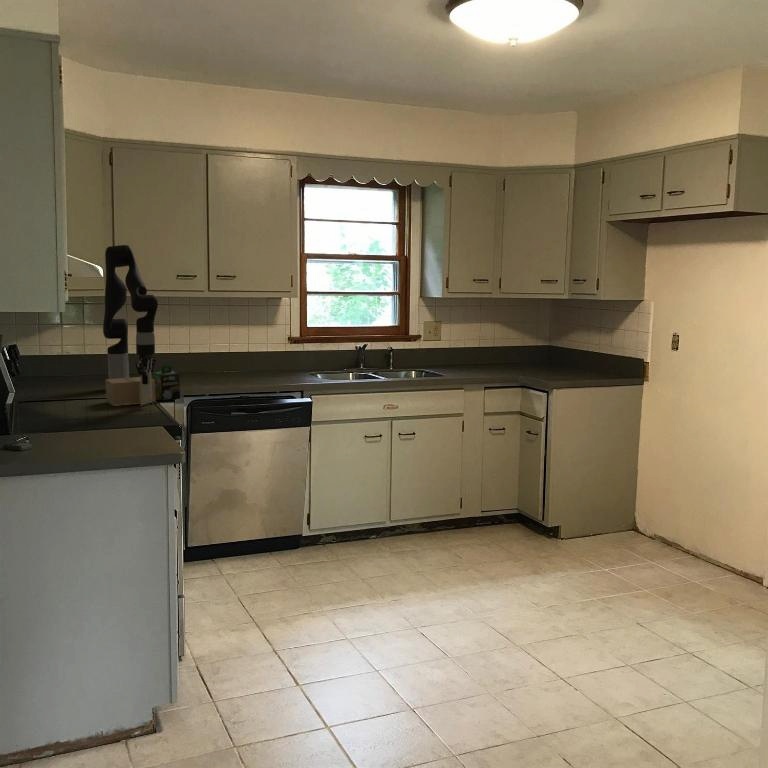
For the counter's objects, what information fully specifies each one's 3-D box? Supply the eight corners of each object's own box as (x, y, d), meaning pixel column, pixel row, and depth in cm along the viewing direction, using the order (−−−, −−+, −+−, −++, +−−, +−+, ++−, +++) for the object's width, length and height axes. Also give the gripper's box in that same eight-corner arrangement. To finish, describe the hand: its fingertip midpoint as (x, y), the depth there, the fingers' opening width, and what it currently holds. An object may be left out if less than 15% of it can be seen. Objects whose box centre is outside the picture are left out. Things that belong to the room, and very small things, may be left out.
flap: (139, 406, 349) (138, 371, 347) (151, 403, 357) (150, 369, 354) (150, 407, 347) (148, 372, 345) (161, 404, 355) (160, 370, 352)
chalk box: (172, 395, 377) (171, 363, 375) (181, 398, 370) (180, 365, 368) (153, 397, 371) (151, 364, 369) (161, 400, 364) (160, 367, 362)
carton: (106, 402, 359) (105, 379, 357) (147, 398, 368) (147, 376, 367) (113, 406, 349) (112, 383, 347) (155, 403, 358) (154, 379, 357)
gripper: (145, 340, 352) (146, 380, 355) (128, 344, 339) (129, 385, 342) (161, 341, 350) (162, 381, 353) (145, 345, 337) (146, 387, 340)
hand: (146, 383), depth 347 cm, fingers closed
